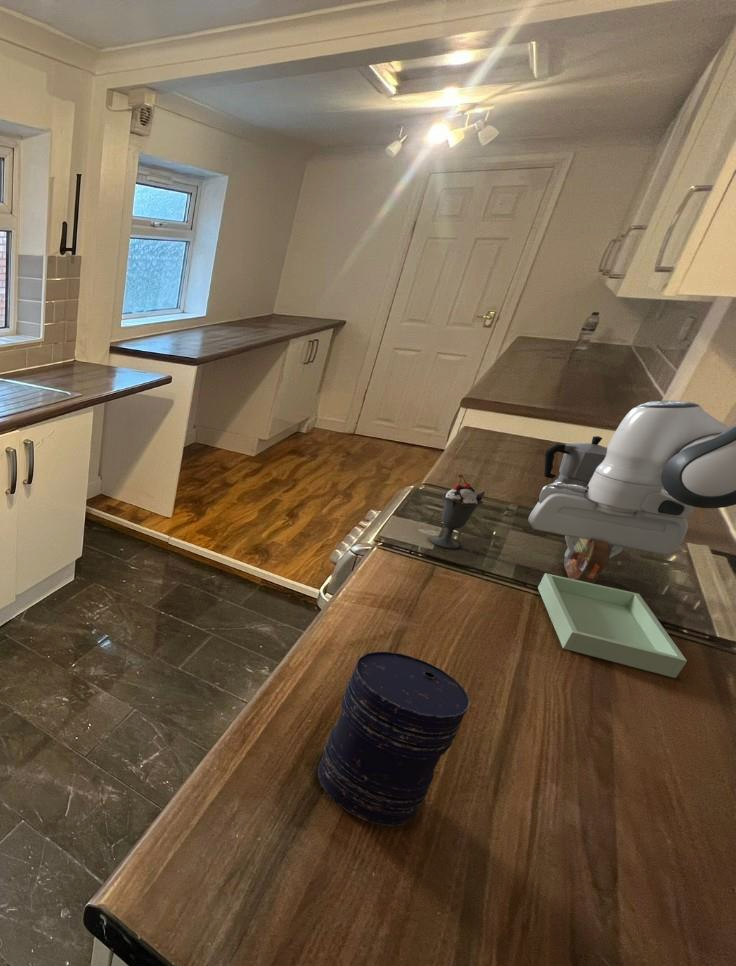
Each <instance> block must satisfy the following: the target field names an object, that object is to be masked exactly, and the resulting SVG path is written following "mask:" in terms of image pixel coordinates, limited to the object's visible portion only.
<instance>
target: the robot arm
mask: <svg viewBox="0 0 736 966" xmlns="http://www.w3.org/2000/svg"><path fill="white" fill-rule="evenodd" d="M606 448H607V453H606V457H605V459H604V460H603V462H602V463H601V464H600V465H599V466H598V467H597V468H596V470H595V472H594V474H593V476H592V478H591V480H590V482H589V484H588V486H587V487H585V486H579V485H569V484H565V483H560V482H556V483H555V484H553V483H549V484H547V485H545V486H543V487H542V488H541V489H540V492H539V494H538V496H537V500H538V501H537V503H536V504H535V506H534V507H533V509H532V510H531V512H530V514H529V516H528V518H527V519H528V524H529V525H530V527H531V528H532V529H533V530H536V531H541V532H546V533H551V534H557V535H561V536H564V539H565V543H566V546H567V549H566V550H565V553H564V559H565V558H568V559H573V560H577V558H578V557H577V556H579V554H580V551H579V550H578V549H576V548H574V545H573V542H574V543H577V542H578V540H579V538H582V539H587V540H592V539H591V538H593V539H596V540H600V541H604V542H608V544H609V546H610V549H611V551H610V557H609V559H611V558H613V557H615V556H616V555H619V554H621V553H622V551H623V550H624V548H628V549H633V550H639V551H644V552H648V553H652V554H653V553H654V554H659V555H664V556H669V555H671V554H674V553H677V551H678V550H679V548H680V547H681V545H682V543H683V542H684V540H685V537H686V535H687V531H688V530H689V529H688V528H689V523H688V521H687V520H686V519H685V518H688V517H690V516H691V515H692V513H693V512H694V508H699V509H700V508H701V509H721V508H722V509H723V508H727V507H732V506H736V423H735V424H733V425H732V426H729V425H728V424H726V423H724V422H722V421H721V420H718V419H717V418H715V417H713V416H712V415H711V414H709V413H708V412H706V410H705V409H704V408H703V407H702V406H701V404H698V403H696V402H692V401H691V402H690V401H683V400H657V401H656V400H655V401H647V402H643V403H641V404H639V405H637V406H634V407H632V409H630V410H629V411H628V412H627V414H626V415H625V416H624V417H623V419H622V420H621V421H620V423H619V425H618V427H617V428H616V430H615V431H614V433H613V435H612V437H611V439H610V441H609V443H608V445H607V446H606ZM551 486H554V487H551Z"/></svg>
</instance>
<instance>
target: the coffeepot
mask: <svg viewBox="0 0 736 966" xmlns="http://www.w3.org/2000/svg"><path fill="white" fill-rule="evenodd" d="M602 440H603V437H601V436H599V435H596V436H595V435H594V436H592V440H591V443H590V442H589V443H588V442H587V443H586V442H585V443H584V442H583V443H581V442H578V443H575V442H574V443H566V444H563V443H556V444H554V445H552V446H550V447H549V448H547V449H546V450H545V452H544V453H545V454H544V474H543V476H544V477H545V478H547V479H554V478H556V477H557V475H556V474H554V473H552V470H553V468H554V465H553V464H554V459H555V454H557V453H561V454H563V455H562V459H561V462H560V467H559V470H558V472H559V475H558V478H557V479H555V480H554V481H553V482H552V484H555V483H556V482H560V483H565V484H569V485H579V486H585V487H587V486H588V484H589V482H590V480H591V478H592V476H593V474H594V472H595V470H596V468H597V467H598V466H599V465H600V464H601V463H602V462H603V460H604V459H605V457H606V453H607V446H606V447H605V446H603V445H600V442H601V441H602ZM550 487H554V486H550Z"/></svg>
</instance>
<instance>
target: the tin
mask: <svg viewBox="0 0 736 966" xmlns="http://www.w3.org/2000/svg"><path fill="white" fill-rule="evenodd" d="M591 539H592V540H587V539H582V538H579V540H578V542H577V543H574V542H573V545H574V548H576V549H578V550H579V551H580V554H579V556H577V557H578V558H577V560H573V559H568V558H565V557H564V559H563V560H564V561H563V566H564V569H565V572H566V575H567V578H570V579H574V580H579V581H583V582H588V583H592V584H596V582H597V580H598V578H599V576H600V575H601V573H602V572H603V570H604V568H605V567H606V565H607V564H608V562H609V559H610V558H609V557H610V551H611V549H610V546H609V544H608V542H604V541H600V540H596V539H593V538H591Z"/></svg>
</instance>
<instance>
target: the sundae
mask: <svg viewBox="0 0 736 966" xmlns="http://www.w3.org/2000/svg"><path fill="white" fill-rule="evenodd" d="M458 477H459V478H460V480H459V482H458V483H456V484H455V485H454V488H452V489H449V490H448V491H447V492H444V493H443V494H442V496H441V497H442V499H443V500H444V505H443V509H442V514H441V523H442V525H444V526H445V528H446V529H445V532H444V534H443V535H442V536H441V537H436V536H435V537H432V538H430V542H431V543H432V544H434V545H436V546H437V547H442V548H445V549H453V550H455V549H458V548H459V546H460V545H459V544H458V543H457V542H456V541H454V540H453V539H452V535H453V532H454V531H455V530H457V529H461V528H463V527H464V526H465V525H466V524H467V522H468V521H469V519H470V518H471V516H472V515H473V513H474V511H475V510H476V508H477V507H478V506H480V505H483V503H484V501H483V498H484V497H485V494H486V492H485V491H481V492H480V493H478V492H477V490H476V489H475V488H474V486H471V484H469V483H467V481H466V480H465V477H464V475H463V474H458ZM462 479H463V481H464V484H463V485H461V482H462Z"/></svg>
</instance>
